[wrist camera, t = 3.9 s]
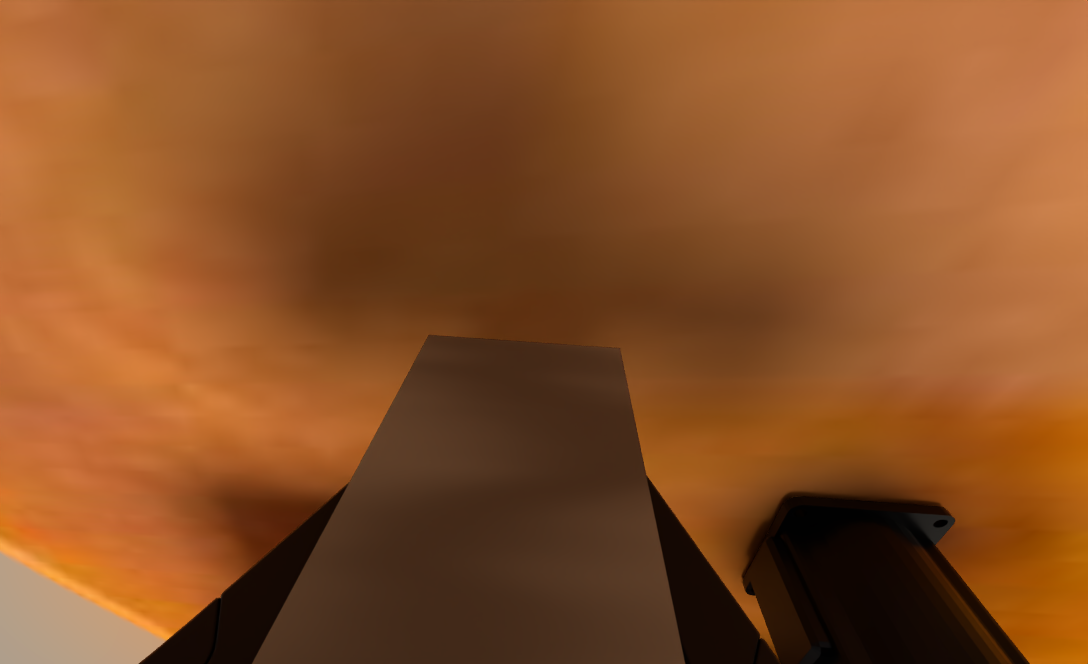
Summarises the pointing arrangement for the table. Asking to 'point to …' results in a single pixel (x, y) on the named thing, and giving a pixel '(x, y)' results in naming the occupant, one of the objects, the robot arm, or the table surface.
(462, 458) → the grey mallet
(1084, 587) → the table surface
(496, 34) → the table surface
